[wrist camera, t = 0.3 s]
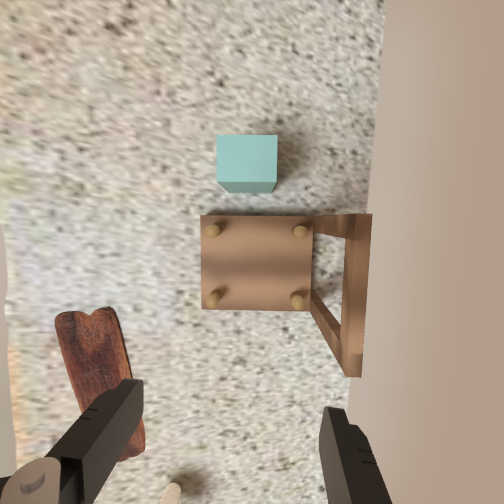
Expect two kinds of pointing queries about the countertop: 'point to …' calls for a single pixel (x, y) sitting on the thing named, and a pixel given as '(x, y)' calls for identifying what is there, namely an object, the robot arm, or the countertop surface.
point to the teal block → (247, 163)
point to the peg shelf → (287, 272)
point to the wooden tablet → (96, 361)
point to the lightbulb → (171, 494)
